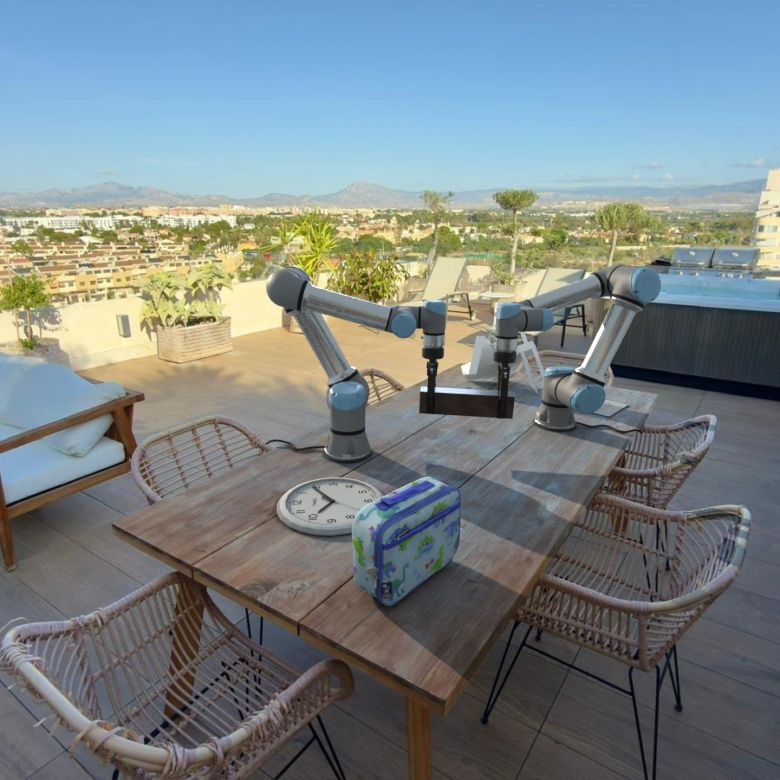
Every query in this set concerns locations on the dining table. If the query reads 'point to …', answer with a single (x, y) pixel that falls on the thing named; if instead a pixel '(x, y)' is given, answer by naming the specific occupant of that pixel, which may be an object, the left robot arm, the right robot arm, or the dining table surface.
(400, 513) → the lunch box
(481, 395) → the walnut beam
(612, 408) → the invitation card
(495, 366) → the white plastic object
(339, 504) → the wall clock
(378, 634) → the dining table surface
